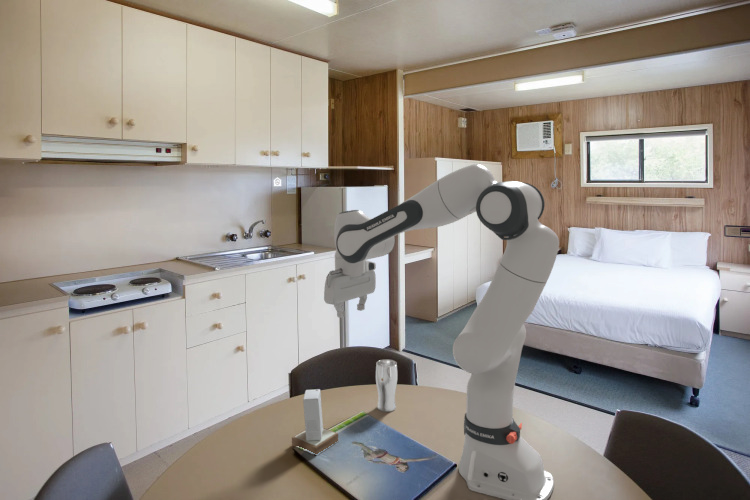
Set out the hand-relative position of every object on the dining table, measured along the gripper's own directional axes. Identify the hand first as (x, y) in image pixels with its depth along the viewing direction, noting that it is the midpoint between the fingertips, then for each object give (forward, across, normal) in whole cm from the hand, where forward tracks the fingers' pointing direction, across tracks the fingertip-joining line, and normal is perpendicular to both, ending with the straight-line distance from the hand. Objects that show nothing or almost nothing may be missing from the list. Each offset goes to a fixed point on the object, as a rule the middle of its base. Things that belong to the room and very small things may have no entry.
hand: (351, 313), depth 137 cm
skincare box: (+32, -15, +2) cm, 35 cm away
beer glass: (+34, +15, -2) cm, 37 cm away
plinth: (+35, -15, +2) cm, 38 cm away
